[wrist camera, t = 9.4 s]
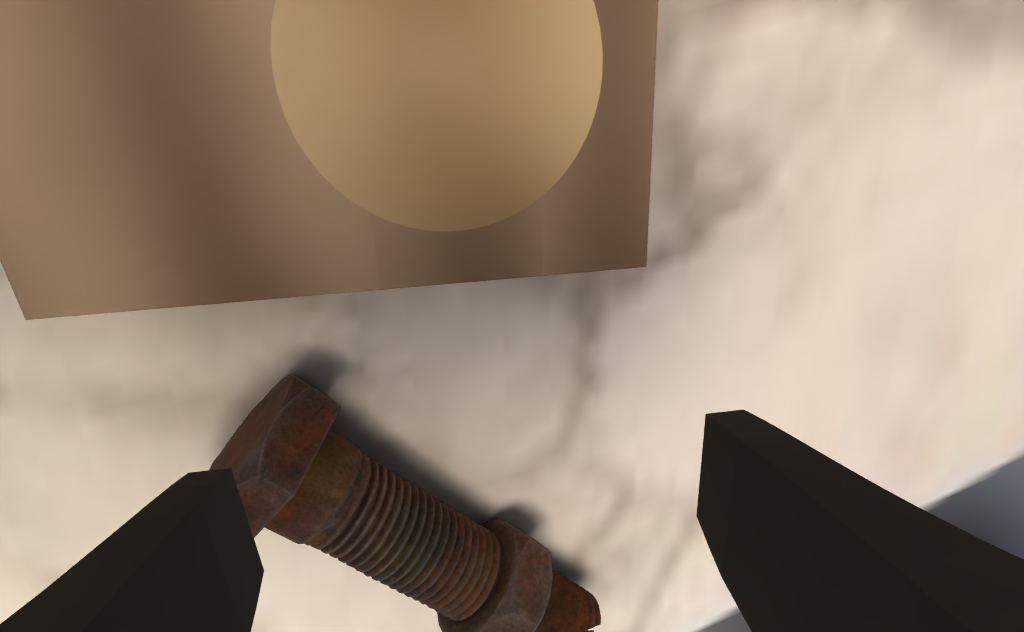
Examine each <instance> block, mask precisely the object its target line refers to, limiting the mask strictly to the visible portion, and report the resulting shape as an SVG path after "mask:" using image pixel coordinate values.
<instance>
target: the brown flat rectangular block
mask: <svg viewBox="0 0 1024 632" xmlns="http://www.w3.org/2000/svg"><path fill="white" fill-rule="evenodd" d="M593 1H594V3H595V7H596V12H597V16H598V20H599V25H600V31H601V40H602V49H603V72H602V81H601V89H600V96H599V100H598V104H597V108H596V112H595V116H594V119H593V122H592V124H591V127H590V130H589V132H588V135H587V137H586V139H585V141H584V143H583V145H582V147H581V149H580V151H579V153H578V155H577V156H576V158H575V159H574V161H573V162H572V163H571V165H570V166H569V168H568V169H567V171H566V172H565V173H564V174H563V176H562V177H561V178H560V179H559V180H558V181H557V182H556V183H555V184H554V186H553V187H552V188H551V189H549V190H548V191H547V192H546V193H545V194H544V195H543V196H541V197H540V198H539V199H538V200H537V201H535V202H534V203H532V204H531V205H529V206H528V207H526V208H525V209H523V210H522V211H520V212H518V213H516V214H514V215H512V216H510V217H508V218H506V219H504V220H502V221H499V222H496V223H493V224H490V225H487V226H484V227H479V228H474V229H469V230H461V231H449V232H446V231H427V230H421V229H416V228H410V227H406V226H403V225H399V224H396V223H393V222H390V221H387V220H385V219H383V218H381V217H378V216H376V215H374V214H372V213H370V212H368V211H366V210H365V209H363V208H361V207H360V206H358V205H356V204H355V203H353V202H352V201H351V200H349V199H348V198H347V197H345V196H344V195H343V194H342V193H340V192H339V191H338V190H336V189H335V188H334V187H333V186H332V185H331V184H330V183H329V182H328V181H327V180H326V179H325V178H324V177H323V176H322V175H321V174H320V173H319V171H318V170H317V169H316V168H315V166H314V165H313V164H312V163H311V161H310V160H309V159H308V158H307V156H306V155H305V153H304V152H303V150H302V148H301V147H300V145H299V144H298V142H297V140H296V139H295V137H294V135H293V133H292V131H291V129H290V126H289V124H288V122H287V120H286V118H285V116H284V113H283V110H282V107H281V104H280V101H279V98H278V95H277V91H276V86H275V81H274V76H273V71H272V60H271V48H270V42H271V21H272V15H273V10H274V4H275V0H0V261H1V263H2V266H3V268H4V270H5V273H6V275H7V277H8V280H9V282H10V284H11V287H12V289H13V291H14V294H15V296H16V298H17V301H18V303H19V305H20V308H21V310H22V312H23V314H24V317H25V319H26V320H30V319H42V318H54V317H65V316H77V315H89V314H101V313H112V312H124V311H136V310H147V309H159V308H171V307H182V306H194V305H206V304H218V303H229V302H241V301H253V300H264V299H276V298H288V297H299V296H311V295H323V294H335V293H346V292H358V291H370V290H381V289H393V288H405V287H416V286H428V285H440V284H452V283H463V282H475V281H487V280H498V279H510V278H522V277H533V276H545V275H557V274H569V273H580V272H592V271H604V270H615V269H627V268H639V267H646V262H647V240H648V217H649V195H650V173H651V151H652V129H653V106H654V84H655V62H656V40H657V17H658V0H593Z"/></svg>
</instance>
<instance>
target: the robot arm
mask: <svg viewBox="0 0 1024 632" xmlns="http://www.w3.org/2000/svg"><path fill="white" fill-rule="evenodd" d="M697 518H698V520H699V523H700V526H701V528H702V531H703V533H704V536H705V538H706V541H707V543H708V546H709V548H710V551H711V553H712V555H713V558H714V560H715V562H716V565H717V567H718V569H719V572H720V574H721V577H722V578H723V580H724V582H725V584H726V586H727V588H728V590H729V591H730V593H731V595H732V597H733V599H734V600H735V602H736V604H737V606H738V608H739V609H740V611H741V613H742V615H743V617H744V619H745V620H746V622H747V624H748V626H749V627H750V629H751V631H752V632H1024V559H1021V558H1019V557H1017V556H1015V555H1012V554H1010V553H1008V552H1006V551H1004V550H1002V549H1000V548H998V547H996V546H994V545H991V544H989V543H987V542H985V541H983V540H981V539H979V538H977V537H975V536H973V535H971V534H969V533H967V532H965V531H963V530H961V529H959V528H957V527H956V526H954V525H951V524H950V523H947V522H946V521H944V520H942V519H940V518H938V517H936V516H934V515H932V514H930V513H928V512H926V511H924V510H922V509H920V508H918V507H917V506H915V505H913V504H911V503H909V502H907V501H905V500H904V499H902V498H900V497H898V496H896V495H894V494H892V493H891V492H889V491H887V490H885V489H883V488H882V487H880V486H878V485H876V484H874V483H873V482H871V481H869V480H867V479H865V478H864V477H862V476H860V475H858V474H857V473H855V472H853V471H851V470H850V469H848V468H846V467H844V466H843V465H841V464H839V463H837V462H836V461H834V460H832V459H830V458H829V457H827V456H825V455H824V454H822V453H820V452H818V451H817V450H815V449H813V448H812V447H810V446H808V445H806V444H805V443H803V442H801V441H800V440H798V439H796V438H794V437H793V436H791V435H789V434H787V433H786V432H784V431H782V430H780V429H779V428H777V427H775V426H774V425H772V424H770V423H768V422H766V421H765V420H763V419H761V418H759V417H757V416H755V415H753V414H751V413H749V412H747V411H745V410H736V411H728V412H719V413H710V414H706V417H705V428H704V439H703V450H702V462H701V473H700V484H699V495H698V506H697ZM263 573H264V569H263V566H262V563H261V560H260V557H259V554H258V550H257V547H256V544H255V541H254V538H253V535H252V532H251V529H250V525H249V522H248V519H247V516H246V513H245V510H244V507H243V504H242V500H241V497H240V494H239V491H238V488H237V485H236V482H235V479H234V476H233V472H232V469H231V468H227V469H218V470H209V471H200V472H192V473H188V474H186V475H185V476H184V477H182V478H181V479H179V480H178V481H177V482H175V483H174V484H173V485H171V486H170V487H169V488H168V489H166V490H165V491H164V492H163V493H161V494H160V495H159V496H158V497H156V498H155V499H154V500H153V501H151V502H150V503H149V504H148V505H147V506H145V507H144V508H143V509H142V510H141V511H139V512H138V513H137V514H136V515H135V516H133V517H132V518H131V519H130V520H128V521H127V522H126V523H125V524H124V525H122V526H121V527H120V528H119V529H118V530H116V531H115V532H114V533H113V534H112V535H111V536H109V537H108V538H107V539H106V540H104V541H103V542H102V543H101V544H100V545H98V546H97V547H96V548H95V549H94V550H92V551H91V552H90V553H89V554H87V555H86V556H85V557H84V558H83V559H81V560H80V561H79V562H78V563H77V564H75V565H74V566H73V567H72V568H70V569H69V570H68V571H67V572H66V573H64V574H63V575H62V576H61V577H60V578H58V579H57V580H56V581H55V582H53V583H52V584H51V585H50V586H49V587H47V588H46V589H45V590H44V591H42V592H41V593H40V594H38V595H37V596H36V597H35V598H33V599H32V600H31V601H29V602H28V603H27V604H26V605H24V606H23V607H22V608H20V609H19V610H18V611H17V612H15V613H14V614H13V615H11V616H10V617H9V618H8V619H6V620H5V621H4V622H2V623H1V624H0V632H251V628H252V624H253V619H254V615H255V611H256V607H257V602H258V597H259V592H260V587H261V583H262V578H263Z"/></svg>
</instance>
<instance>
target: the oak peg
mask: <svg viewBox="0 0 1024 632" xmlns="http://www.w3.org/2000/svg"><path fill="white" fill-rule="evenodd" d="M270 48H271V60H272V71H273V76H274V81H275V86H276V91H277V95H278V98H279V101H280V104H281V107H282V110H283V113H284V116H285V118H286V120H287V122H288V124H289V126H290V129H291V131H292V133H293V135H294V137H295V139H296V140H297V142H298V144H299V145H300V147H301V148H302V150H303V152H304V153H305V155H306V156H307V158H308V159H309V160H310V161H311V163H312V164H313V165H314V166H315V168H316V169H317V170H318V171H319V173H320V174H321V175H322V176H323V177H324V178H325V179H326V180H327V181H328V182H329V183H330V184H331V185H332V186H333V187H334V188H335V189H336V190H338V191H339V192H340V193H342V194H343V195H344V196H345V197H347V198H348V199H349V200H351V201H352V202H353V203H355V204H356V205H358V206H360V207H361V208H363V209H365V210H366V211H368V212H370V213H372V214H374V215H376V216H378V217H381V218H383V219H385V220H387V221H390V222H393V223H396V224H399V225H403V226H406V227H410V228H416V229H421V230H427V231H446V232H449V231H461V230H469V229H474V228H479V227H484V226H487V225H490V224H493V223H496V222H499V221H502V220H504V219H506V218H508V217H510V216H512V215H514V214H516V213H518V212H520V211H522V210H523V209H525V208H526V207H528V206H529V205H531V204H532V203H534V202H535V201H537V200H538V199H539V198H540V197H541V196H543V195H544V194H545V193H546V192H547V191H548V190H549V189H551V188H552V187H553V186H554V184H555V183H556V182H557V181H558V180H559V179H560V178H561V177H562V176H563V174H564V173H565V172H566V171H567V169H568V168H569V166H570V165H571V163H572V162H573V161H574V159H575V158H576V156H577V155H578V153H579V151H580V149H581V147H582V145H583V143H584V141H585V139H586V137H587V135H588V132H589V130H590V127H591V124H592V122H593V119H594V116H595V112H596V108H597V104H598V100H599V96H600V89H601V81H602V72H603V49H602V40H601V31H600V25H599V20H598V16H597V12H596V7H595V3H594V1H593V0H275V4H274V10H273V15H272V21H271V42H270Z"/></svg>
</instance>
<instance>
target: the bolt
mask: <svg viewBox="0 0 1024 632" xmlns="http://www.w3.org/2000/svg"><path fill="white" fill-rule="evenodd" d="M340 409H341V406H340V405H339V404H337V403H336V402H335V401H333V400H332V399H331V398H330V397H328V396H327V395H326V394H324V393H323V392H321V391H320V390H318V389H316V388H315V387H313V386H312V385H310V384H309V383H307V382H305V381H304V380H302V379H301V378H299V377H298V376H296V375H294V374H291V375H289V376H288V377H286V378H284V379H283V380H281V381H280V382H279V383H278V384H277V385H275V386H274V387H273V389H272V390H271V391H270V392H269V393H268V394H267V395H266V396H265V398H264V399H263V400H262V401H261V402H260V403H259V404H258V405H257V406H256V407H255V408H254V409H253V410H252V412H251V413H250V414H249V415H248V417H247V418H246V419H245V420H244V422H243V423H242V424H241V425H240V427H239V428H238V429H237V431H236V432H235V434H234V435H233V436H232V438H231V439H230V441H229V442H228V443H227V445H226V446H225V448H224V449H223V450H222V452H221V453H220V454H219V456H218V457H217V458H216V459H215V461H214V462H213V463H212V466H211V468H210V470H218V469H227V468H231V469H232V472H233V476H234V479H235V482H236V485H237V488H238V491H239V494H240V497H241V500H242V504H243V507H244V510H245V513H246V516H247V519H248V522H249V525H250V529H251V532H252V535H253V538H254V537H255V536H256V535H257V534H258V533H259V532H260V531H261V530H262V529H263V528H264V527H265V528H267V529H269V530H271V531H273V532H275V533H277V534H279V535H281V536H283V537H285V538H287V539H289V540H291V541H293V542H295V543H298V544H306V545H311V546H312V547H313V548H316V549H319V550H320V549H321V551H322V552H324V553H325V554H327V553H329V554H330V556H332V557H334V558H338V560H339V561H341V562H343V563H346V564H347V565H348V566H351V567H353V568H355V569H356V570H357V571H360V572H362V573H364V574H365V575H366V576H372V579H374V580H376V581H380V582H381V583H382V584H385V585H388V586H389V587H390V588H391V589H396V590H397V591H398V592H399V593H404V594H405V595H406V596H407V597H412V598H413V599H414V600H418V601H419V602H421V603H422V604H426V605H427V606H428V607H429V608H432V609H434V610H435V611H436V612H437V614H438V622H439V626H440V628H441V630H442V632H594V630H591V631H588V629H591V628H593V627H595V626H597V625H600V624H601V614H600V609H599V605H598V603H597V600H596V599H595V597H594V596H593V595H592V594H591V593H589V592H588V591H586V590H585V589H584V588H583V587H581V586H579V585H578V584H576V583H574V582H572V581H570V580H569V579H567V578H566V577H565V576H562V575H561V574H560V573H558V572H556V571H554V570H552V562H551V552H550V551H549V550H548V549H547V548H545V547H544V546H543V545H541V544H540V543H539V542H537V541H536V540H534V539H533V538H531V537H530V536H529V535H527V534H526V533H524V532H523V531H521V530H519V529H518V528H516V527H515V526H513V525H512V524H510V523H508V522H507V521H505V520H504V519H502V518H500V517H499V518H496V519H493V520H491V521H488V522H486V523H484V524H483V525H480V524H478V523H476V522H474V521H473V520H472V519H470V518H467V517H466V516H464V515H462V514H460V513H459V512H457V511H455V510H453V509H452V508H451V507H450V506H447V505H445V504H444V503H443V502H442V501H439V500H438V499H437V498H435V497H433V496H431V495H430V494H428V493H426V492H424V491H423V490H422V489H421V488H418V487H416V486H415V485H414V484H412V483H410V482H408V481H407V480H405V479H403V478H401V477H400V476H399V475H398V474H395V473H393V472H392V471H391V470H389V469H387V468H385V467H384V466H383V465H382V464H377V462H376V461H375V460H373V459H370V458H369V457H368V456H366V455H365V454H363V453H361V451H360V449H359V448H358V447H357V446H356V445H354V444H352V443H351V442H349V441H347V440H346V439H344V438H342V437H341V436H339V435H338V434H336V433H334V432H333V431H331V430H330V428H331V426H332V424H333V422H334V420H335V418H336V416H337V414H338V412H339V410H340Z"/></svg>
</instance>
